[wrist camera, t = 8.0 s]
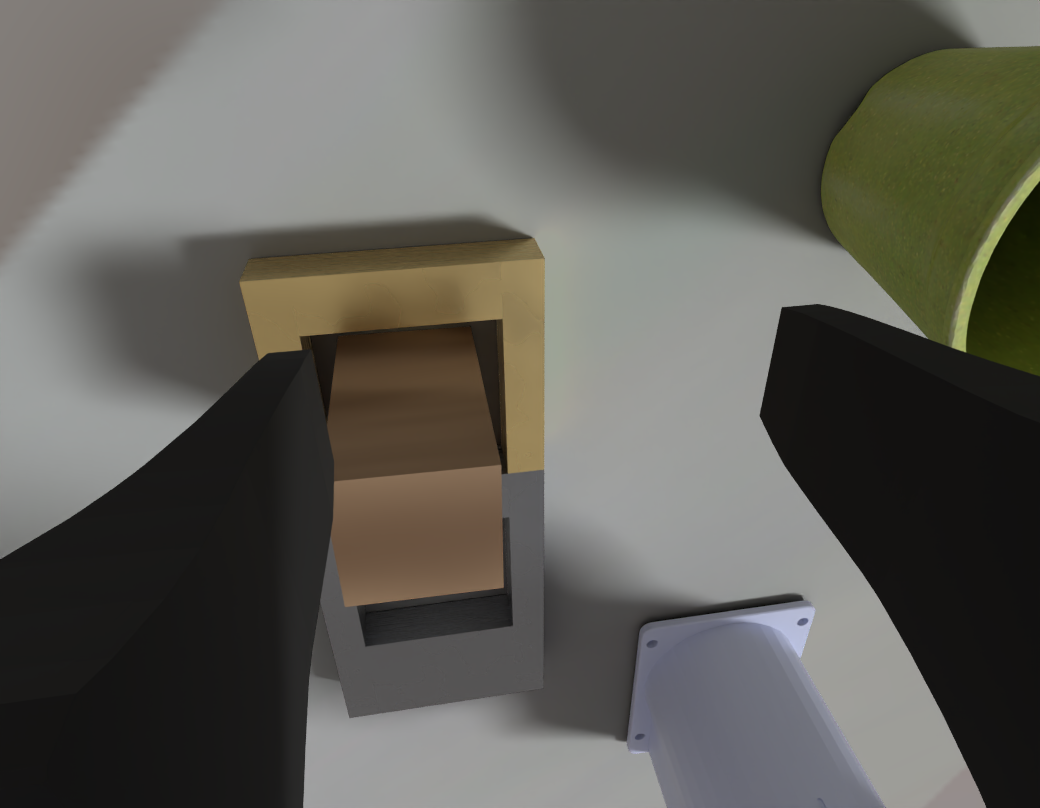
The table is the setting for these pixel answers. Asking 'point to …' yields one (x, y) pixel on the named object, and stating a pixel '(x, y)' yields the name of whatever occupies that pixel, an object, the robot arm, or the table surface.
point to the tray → (520, 342)
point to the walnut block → (413, 468)
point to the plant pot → (949, 197)
